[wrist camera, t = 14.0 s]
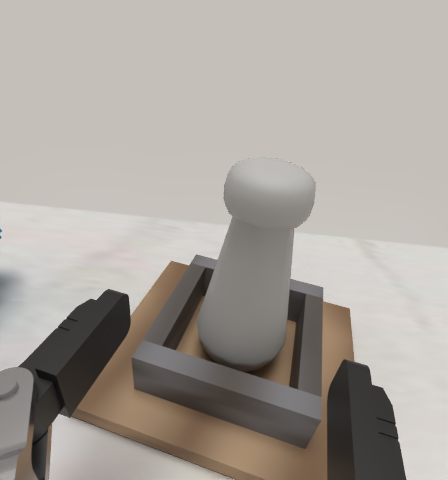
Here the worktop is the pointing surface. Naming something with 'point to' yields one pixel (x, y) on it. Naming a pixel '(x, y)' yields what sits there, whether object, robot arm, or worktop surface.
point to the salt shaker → (255, 263)
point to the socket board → (223, 384)
